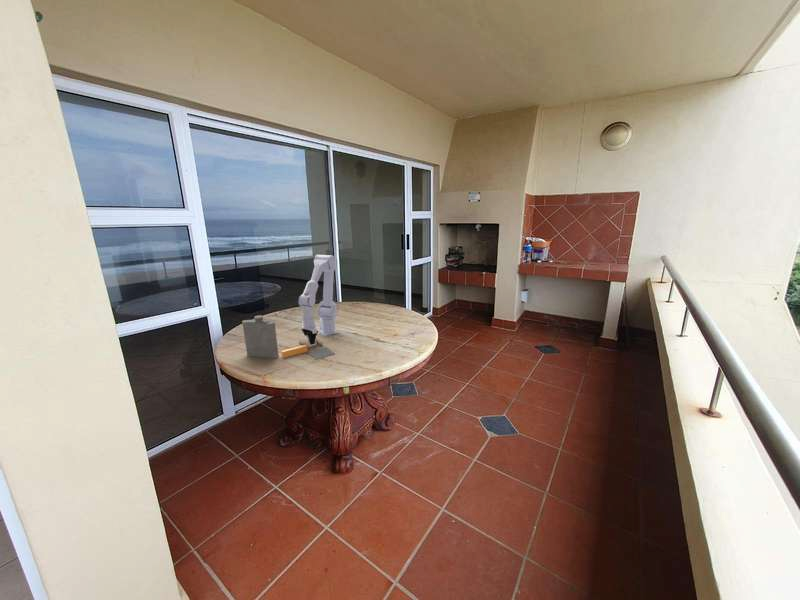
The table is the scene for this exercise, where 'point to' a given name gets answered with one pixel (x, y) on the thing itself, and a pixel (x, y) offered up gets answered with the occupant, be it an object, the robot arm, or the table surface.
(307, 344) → the white block
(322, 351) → the slate mat
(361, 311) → the table surface
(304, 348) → the orange bar
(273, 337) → the hip flask
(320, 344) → the walnut channel
